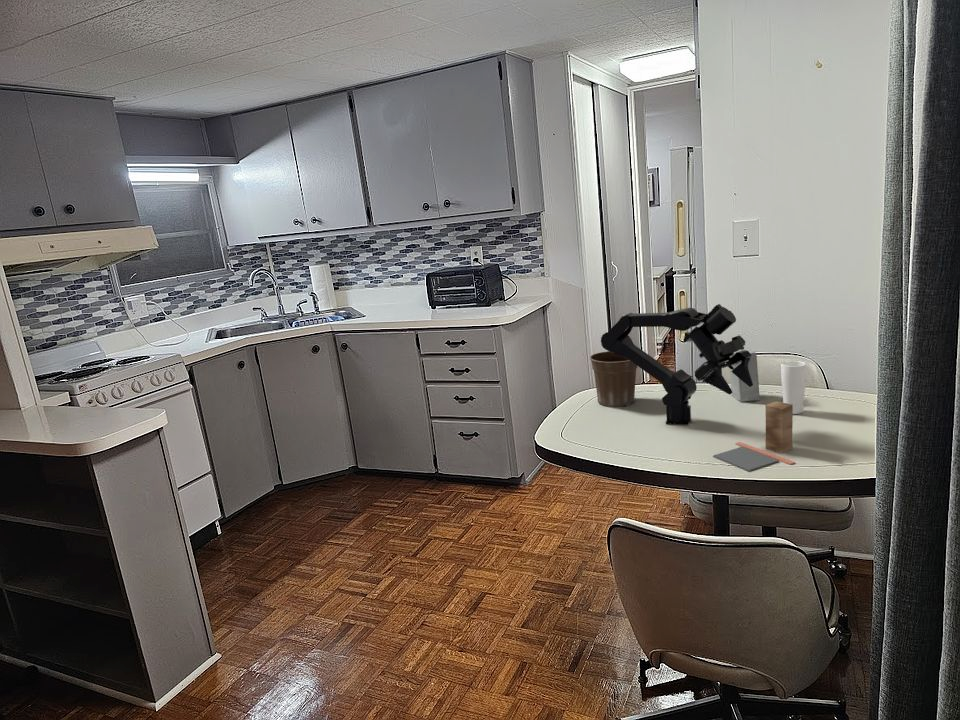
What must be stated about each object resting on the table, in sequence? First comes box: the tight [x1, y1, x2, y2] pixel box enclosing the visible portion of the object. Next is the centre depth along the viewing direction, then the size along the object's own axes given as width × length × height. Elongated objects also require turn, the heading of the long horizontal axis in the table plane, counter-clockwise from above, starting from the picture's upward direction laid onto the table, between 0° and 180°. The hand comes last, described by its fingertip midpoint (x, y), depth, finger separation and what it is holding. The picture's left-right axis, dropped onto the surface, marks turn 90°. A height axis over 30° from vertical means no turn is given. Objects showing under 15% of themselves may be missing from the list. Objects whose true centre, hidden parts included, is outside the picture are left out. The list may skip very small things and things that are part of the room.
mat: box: [712, 446, 780, 472], centre depth 170 cm, size 12×10×1 cm
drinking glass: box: [780, 360, 807, 415], centre depth 198 cm, size 7×7×15 cm
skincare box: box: [729, 347, 761, 403], centre depth 215 cm, size 8×7×16 cm
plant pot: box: [589, 350, 638, 408], centre depth 224 cm, size 16×16×16 cm
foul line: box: [735, 441, 796, 466], centre depth 172 cm, size 18×2×1 cm, turn 24°
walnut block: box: [765, 400, 794, 454], centre depth 173 cm, size 5×5×12 cm
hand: (741, 389), depth 183 cm, fingers open, 9 cm apart
